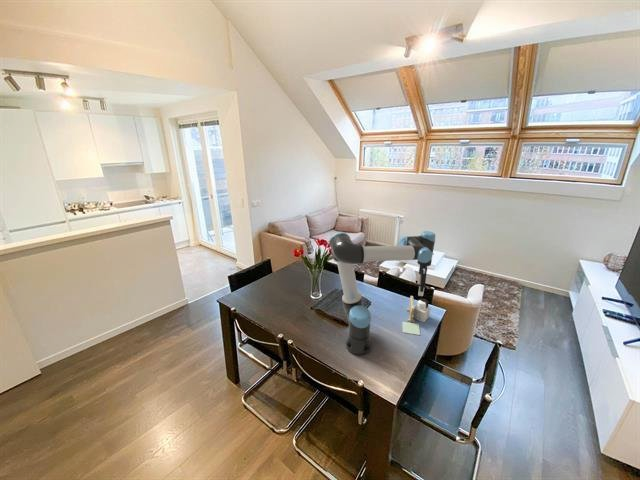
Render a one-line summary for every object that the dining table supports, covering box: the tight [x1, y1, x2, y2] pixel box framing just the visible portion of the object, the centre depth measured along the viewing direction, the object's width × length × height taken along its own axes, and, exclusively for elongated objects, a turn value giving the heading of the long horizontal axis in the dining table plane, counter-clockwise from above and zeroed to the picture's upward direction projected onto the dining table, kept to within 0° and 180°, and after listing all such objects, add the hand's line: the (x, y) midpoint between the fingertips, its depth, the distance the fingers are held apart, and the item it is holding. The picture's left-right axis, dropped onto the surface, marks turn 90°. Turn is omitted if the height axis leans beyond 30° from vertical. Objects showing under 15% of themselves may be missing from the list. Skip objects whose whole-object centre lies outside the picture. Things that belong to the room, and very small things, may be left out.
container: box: [413, 298, 431, 323], centre depth 173 cm, size 8×8×13 cm
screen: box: [406, 295, 416, 323], centre depth 175 cm, size 4×14×11 cm, turn 165°
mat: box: [401, 321, 421, 336], centre depth 165 cm, size 10×10×1 cm
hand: (420, 289), depth 160 cm, fingers open, 13 cm apart
